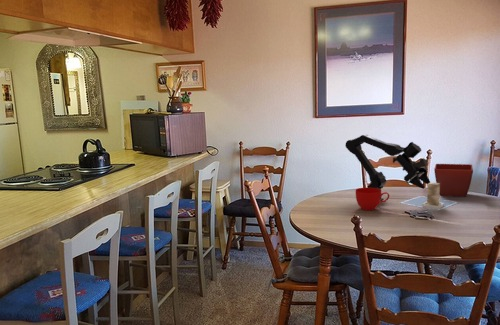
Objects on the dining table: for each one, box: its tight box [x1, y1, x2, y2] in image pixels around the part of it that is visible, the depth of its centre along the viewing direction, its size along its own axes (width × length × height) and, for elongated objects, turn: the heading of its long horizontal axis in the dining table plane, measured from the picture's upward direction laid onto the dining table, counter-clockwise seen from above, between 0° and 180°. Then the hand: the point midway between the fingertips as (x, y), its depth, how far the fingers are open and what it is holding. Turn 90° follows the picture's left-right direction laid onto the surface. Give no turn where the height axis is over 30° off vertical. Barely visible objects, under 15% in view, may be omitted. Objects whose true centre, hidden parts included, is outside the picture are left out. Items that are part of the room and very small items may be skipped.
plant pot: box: [434, 163, 474, 198], centre depth 224 cm, size 19×19×17 cm
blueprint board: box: [399, 195, 460, 212], centre depth 208 cm, size 22×22×1 cm
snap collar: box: [422, 202, 444, 209], centre depth 201 cm, size 8×8×2 cm
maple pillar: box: [426, 181, 440, 206], centre depth 200 cm, size 4×4×12 cm
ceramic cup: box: [355, 187, 390, 211], centre depth 204 cm, size 13×17×10 cm
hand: (427, 186), depth 201 cm, fingers open, 9 cm apart
